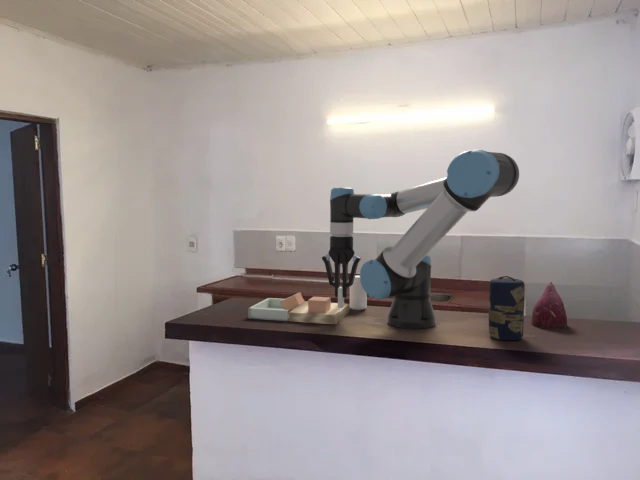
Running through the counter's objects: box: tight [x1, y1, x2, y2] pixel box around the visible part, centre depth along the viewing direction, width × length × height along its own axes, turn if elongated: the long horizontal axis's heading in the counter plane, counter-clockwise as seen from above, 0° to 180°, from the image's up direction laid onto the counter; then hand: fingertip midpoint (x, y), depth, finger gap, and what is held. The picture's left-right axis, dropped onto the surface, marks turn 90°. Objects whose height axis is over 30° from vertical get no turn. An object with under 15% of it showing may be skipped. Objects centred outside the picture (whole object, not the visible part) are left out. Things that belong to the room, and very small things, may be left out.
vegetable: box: [530, 281, 568, 330], centre depth 165 cm, size 10×10×15 cm
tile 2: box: [280, 291, 306, 311], centre depth 183 cm, size 6×6×4 cm
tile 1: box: [307, 296, 332, 313], centre depth 172 cm, size 6×6×4 cm
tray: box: [247, 297, 296, 322], centre depth 181 cm, size 14×18×4 cm
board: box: [288, 300, 350, 325], centre depth 177 cm, size 16×18×3 cm
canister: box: [488, 275, 526, 341], centre depth 149 cm, size 10×10×18 cm
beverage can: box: [349, 274, 368, 311], centre depth 188 cm, size 6×6×12 cm
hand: (340, 306), depth 170 cm, fingers closed
